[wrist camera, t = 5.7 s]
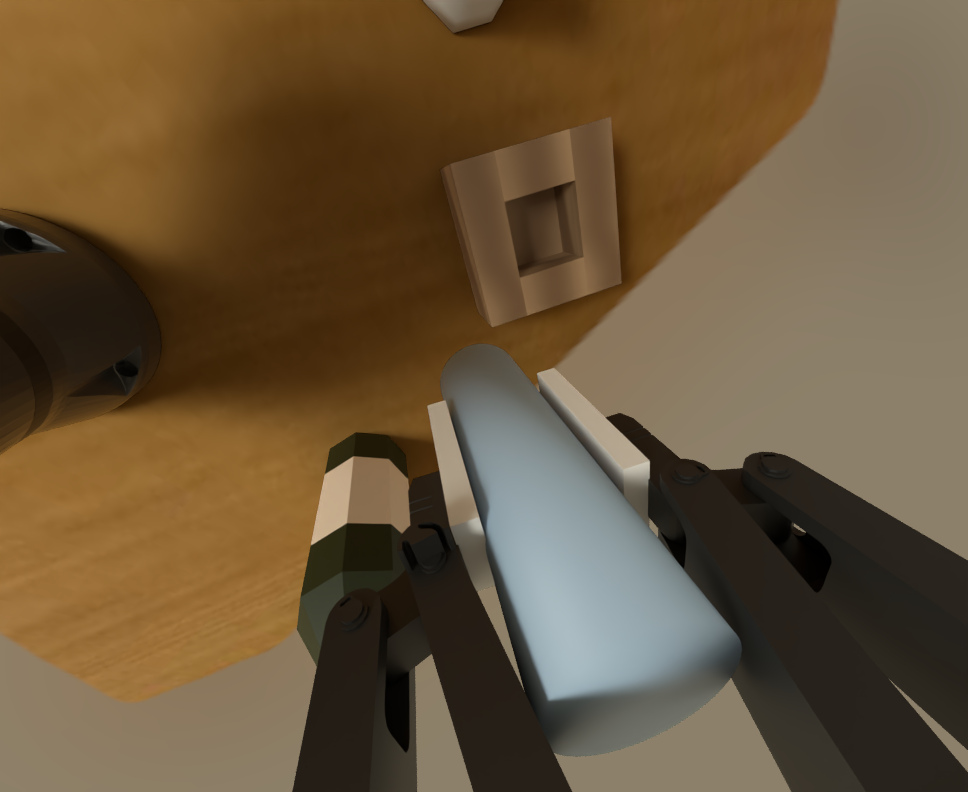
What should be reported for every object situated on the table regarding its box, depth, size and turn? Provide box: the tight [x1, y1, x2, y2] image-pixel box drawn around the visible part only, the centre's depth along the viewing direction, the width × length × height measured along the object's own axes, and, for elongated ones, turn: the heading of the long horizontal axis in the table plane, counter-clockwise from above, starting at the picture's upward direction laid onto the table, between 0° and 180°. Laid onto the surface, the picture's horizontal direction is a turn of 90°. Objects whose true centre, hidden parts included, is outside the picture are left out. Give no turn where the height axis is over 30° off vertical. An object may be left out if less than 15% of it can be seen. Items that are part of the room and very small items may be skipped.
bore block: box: [440, 117, 622, 327], centre depth 31 cm, size 12×12×5 cm
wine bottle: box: [297, 433, 410, 666], centre depth 27 cm, size 8×8×30 cm
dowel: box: [440, 344, 742, 757], centre depth 13 cm, size 4×4×14 cm
